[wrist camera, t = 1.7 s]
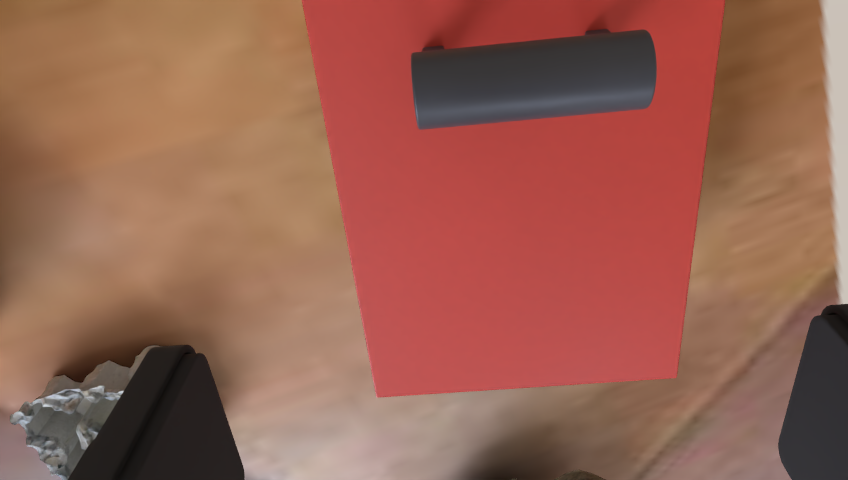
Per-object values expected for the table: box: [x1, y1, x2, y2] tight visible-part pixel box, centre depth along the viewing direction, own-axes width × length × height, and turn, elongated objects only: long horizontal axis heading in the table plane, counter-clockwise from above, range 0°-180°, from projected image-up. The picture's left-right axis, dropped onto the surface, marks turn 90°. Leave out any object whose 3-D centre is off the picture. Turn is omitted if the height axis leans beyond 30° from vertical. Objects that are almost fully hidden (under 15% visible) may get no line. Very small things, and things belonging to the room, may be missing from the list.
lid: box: [302, 0, 725, 397], centre depth 21 cm, size 16×13×5 cm
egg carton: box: [10, 345, 161, 480], centre depth 37 cm, size 11×8×4 cm
